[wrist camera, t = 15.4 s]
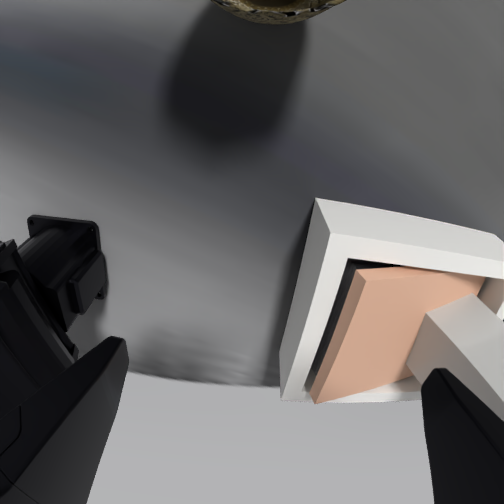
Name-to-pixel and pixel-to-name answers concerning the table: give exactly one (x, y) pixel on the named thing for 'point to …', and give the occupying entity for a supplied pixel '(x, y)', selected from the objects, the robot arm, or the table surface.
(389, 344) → the trapdoor
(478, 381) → the stone pillar
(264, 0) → the cup
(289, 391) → the trapdoor frame
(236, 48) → the table surface
